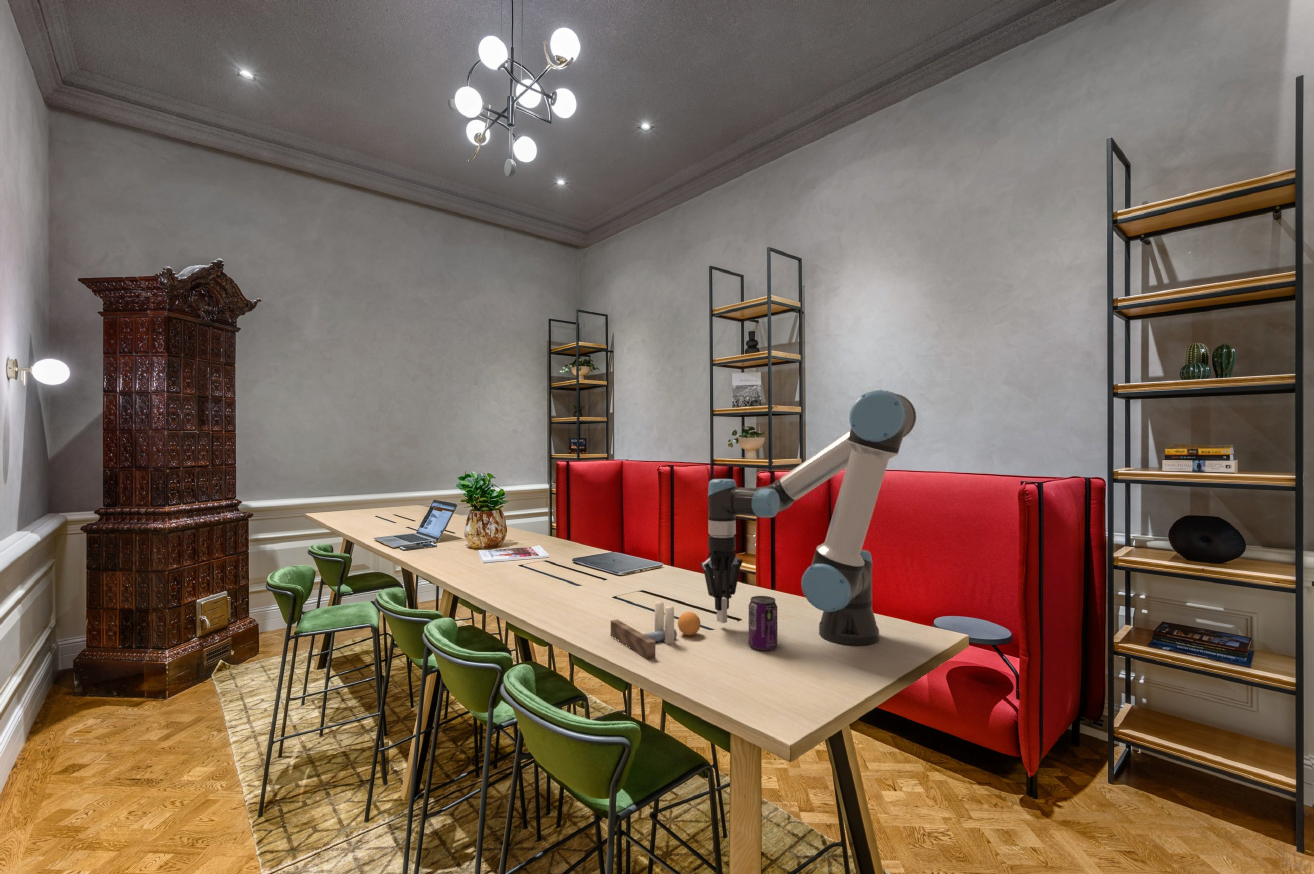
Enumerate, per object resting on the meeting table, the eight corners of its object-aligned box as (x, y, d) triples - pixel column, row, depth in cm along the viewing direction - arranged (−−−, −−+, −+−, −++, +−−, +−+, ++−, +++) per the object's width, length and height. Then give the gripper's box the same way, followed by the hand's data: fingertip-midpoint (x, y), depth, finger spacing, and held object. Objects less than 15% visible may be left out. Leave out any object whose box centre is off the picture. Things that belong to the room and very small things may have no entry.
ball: (684, 635, 152) (700, 640, 155) (692, 612, 153) (708, 618, 156) (670, 628, 157) (686, 633, 160) (678, 606, 158) (693, 612, 161)
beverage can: (777, 653, 143) (777, 603, 143) (747, 650, 144) (747, 601, 145) (777, 643, 150) (777, 595, 150) (749, 641, 151) (749, 594, 152)
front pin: (676, 629, 153) (646, 635, 149) (676, 639, 153) (646, 645, 149) (672, 627, 155) (641, 632, 151) (672, 636, 155) (641, 642, 151)
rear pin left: (675, 643, 150) (675, 607, 150) (667, 644, 149) (667, 609, 149) (670, 640, 152) (670, 605, 152) (662, 642, 151) (662, 606, 151)
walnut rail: (655, 658, 140) (655, 641, 140) (648, 659, 139) (648, 642, 139) (617, 634, 157) (617, 619, 157) (610, 635, 156) (610, 620, 156)
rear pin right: (665, 637, 154) (665, 603, 154) (657, 639, 153) (657, 604, 153) (660, 635, 156) (660, 600, 156) (653, 636, 155) (653, 602, 155)
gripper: (732, 531, 169) (732, 614, 168) (694, 535, 162) (694, 621, 162) (749, 535, 162) (749, 621, 162) (710, 539, 156) (710, 629, 155)
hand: (722, 621), depth 162 cm, fingers closed
